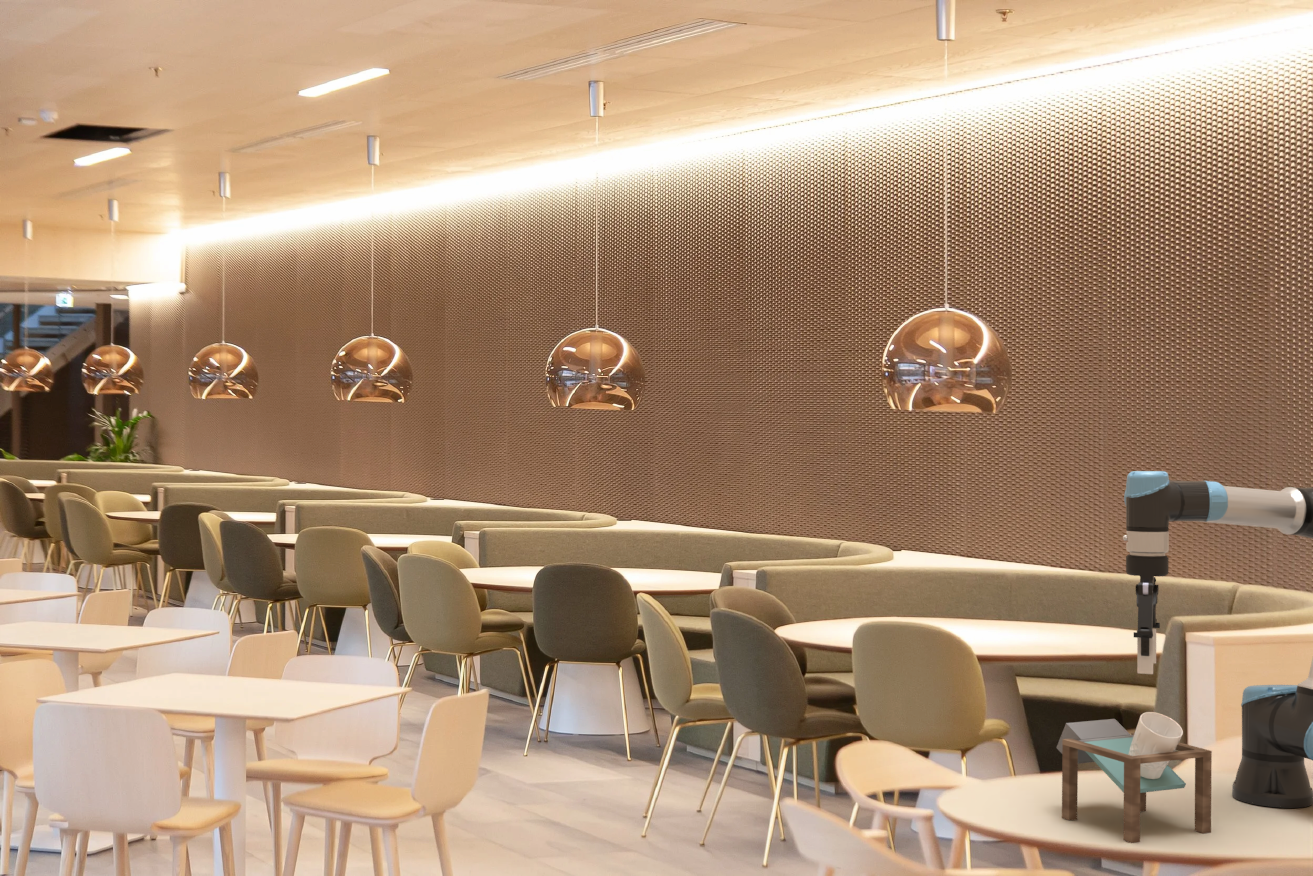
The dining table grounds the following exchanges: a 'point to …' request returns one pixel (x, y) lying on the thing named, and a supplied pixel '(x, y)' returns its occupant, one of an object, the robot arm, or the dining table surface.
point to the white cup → (1155, 741)
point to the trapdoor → (1117, 740)
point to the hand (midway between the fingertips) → (1147, 668)
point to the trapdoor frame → (1137, 782)
